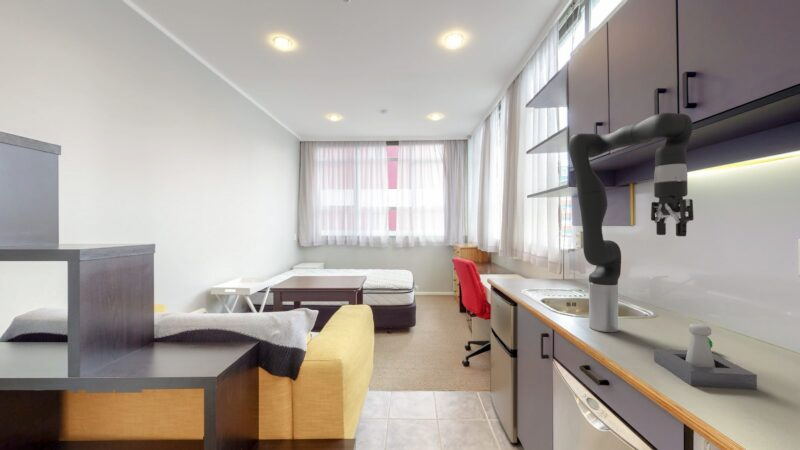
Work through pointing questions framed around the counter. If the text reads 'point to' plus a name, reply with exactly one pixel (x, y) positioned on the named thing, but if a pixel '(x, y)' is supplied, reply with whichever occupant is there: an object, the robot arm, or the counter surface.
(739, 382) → the collar
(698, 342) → the salt shaker
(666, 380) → the counter surface
